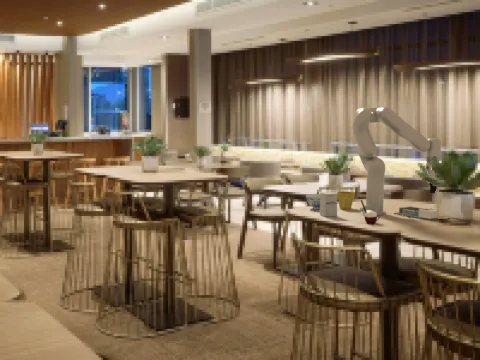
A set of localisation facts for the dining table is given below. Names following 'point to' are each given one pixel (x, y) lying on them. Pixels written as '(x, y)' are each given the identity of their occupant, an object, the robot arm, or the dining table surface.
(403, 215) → the mat
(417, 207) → the tongs moving arm
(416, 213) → the tongs fixed arm
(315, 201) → the chinaware
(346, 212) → the dining table surface
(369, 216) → the cocoa
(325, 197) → the supplement box
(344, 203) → the plant pot
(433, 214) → the lock clasp
